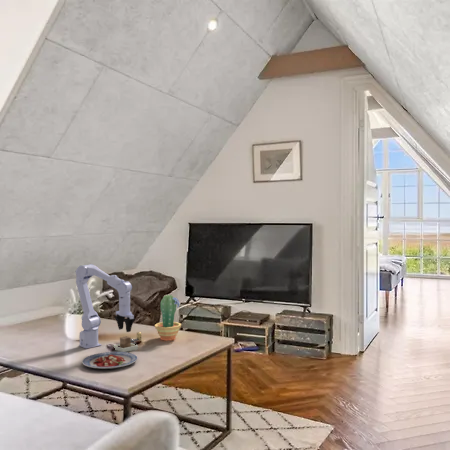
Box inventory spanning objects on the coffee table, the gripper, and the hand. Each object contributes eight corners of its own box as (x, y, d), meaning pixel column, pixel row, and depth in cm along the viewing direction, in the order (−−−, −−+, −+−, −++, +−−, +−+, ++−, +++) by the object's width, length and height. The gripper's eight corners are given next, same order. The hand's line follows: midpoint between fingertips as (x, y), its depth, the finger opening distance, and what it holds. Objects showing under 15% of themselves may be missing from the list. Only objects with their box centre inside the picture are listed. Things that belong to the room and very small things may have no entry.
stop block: (124, 350, 247) (124, 338, 247) (120, 348, 250) (119, 337, 250) (130, 348, 250) (130, 337, 250) (126, 347, 253) (126, 336, 253)
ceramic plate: (72, 363, 227) (72, 357, 227) (119, 352, 245) (119, 347, 245) (99, 376, 209) (99, 369, 209) (148, 363, 227) (148, 357, 227)
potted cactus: (168, 343, 263) (168, 298, 262) (148, 339, 272) (148, 295, 272) (187, 337, 275) (186, 294, 274) (167, 333, 284) (167, 292, 284)
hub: (130, 346, 257) (130, 343, 257) (125, 344, 261) (125, 342, 261) (137, 344, 261) (137, 342, 261) (132, 342, 265) (132, 340, 265)
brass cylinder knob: (130, 342, 259) (130, 335, 259) (127, 341, 261) (127, 334, 261) (142, 339, 264) (142, 332, 264) (139, 339, 266) (139, 331, 266)
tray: (122, 353, 244) (122, 348, 244) (113, 349, 251) (113, 345, 250) (138, 349, 250) (138, 345, 250) (128, 346, 257) (128, 342, 257)
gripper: (138, 305, 249) (138, 331, 249) (123, 302, 259) (123, 326, 259) (127, 307, 244) (127, 333, 244) (112, 303, 254) (112, 329, 255)
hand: (124, 330), depth 251 cm, fingers open, 7 cm apart
